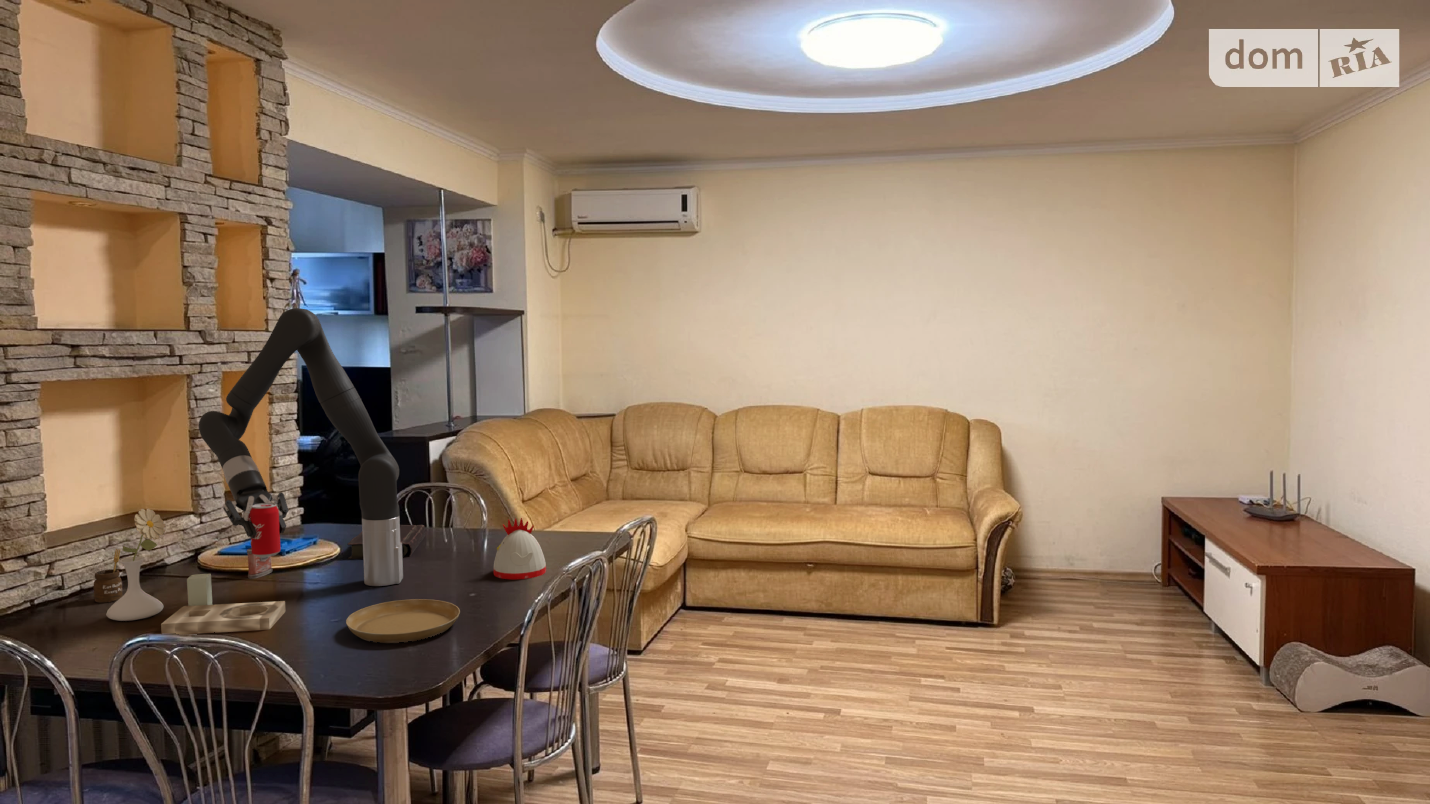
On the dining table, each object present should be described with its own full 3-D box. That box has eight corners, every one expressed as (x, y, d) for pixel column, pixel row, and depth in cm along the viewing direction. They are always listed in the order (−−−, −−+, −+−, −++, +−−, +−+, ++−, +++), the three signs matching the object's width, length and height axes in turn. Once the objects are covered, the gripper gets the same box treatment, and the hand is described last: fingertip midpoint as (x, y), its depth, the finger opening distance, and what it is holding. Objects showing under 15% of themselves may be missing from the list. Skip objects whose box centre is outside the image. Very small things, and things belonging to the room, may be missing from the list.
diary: (426, 539, 303) (425, 523, 303) (412, 559, 278) (411, 542, 278) (364, 540, 300) (364, 524, 300) (344, 560, 276) (344, 543, 275)
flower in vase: (122, 628, 215) (116, 518, 213) (96, 620, 221) (90, 512, 219) (181, 613, 226) (175, 508, 224) (154, 605, 232) (148, 503, 230)
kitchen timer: (491, 568, 265) (490, 514, 264) (542, 564, 269) (540, 511, 268) (496, 581, 252) (494, 525, 251) (549, 576, 256) (547, 521, 255)
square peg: (212, 610, 228) (210, 573, 227) (207, 616, 224) (205, 578, 223) (194, 612, 227) (192, 574, 226) (188, 617, 223) (186, 579, 222)
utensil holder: (88, 601, 235) (85, 553, 234) (112, 594, 241) (110, 547, 240) (105, 604, 233) (102, 555, 232) (129, 597, 239) (126, 549, 238)
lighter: (256, 578, 256) (254, 541, 255) (244, 578, 256) (243, 541, 255) (275, 570, 263) (274, 534, 263) (264, 570, 264) (263, 534, 263)
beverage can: (258, 551, 232) (255, 502, 231) (284, 551, 233) (282, 502, 231) (247, 558, 226) (245, 507, 225) (274, 557, 226) (272, 507, 225)
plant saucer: (462, 641, 206) (461, 626, 206) (342, 653, 200) (341, 637, 199) (458, 608, 229) (458, 595, 229) (350, 618, 223) (350, 604, 222)
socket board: (285, 613, 225) (284, 600, 225) (269, 631, 213) (269, 618, 212) (184, 618, 222) (183, 606, 221) (161, 637, 209) (161, 623, 209)
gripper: (217, 472, 227) (241, 529, 220) (278, 465, 238) (303, 519, 231) (209, 492, 231) (233, 548, 224) (269, 484, 242) (293, 537, 235)
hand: (268, 533), depth 228 cm, fingers closed on beverage can, 6 cm apart
